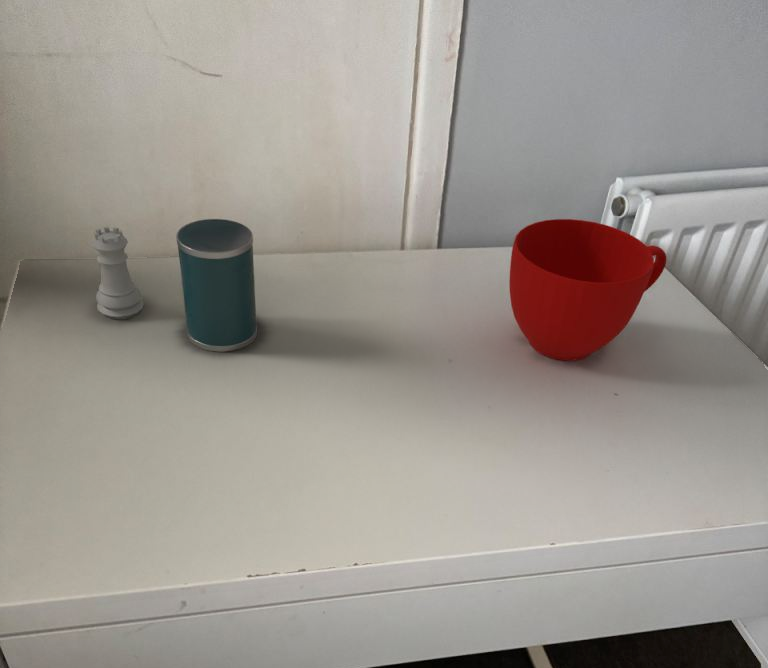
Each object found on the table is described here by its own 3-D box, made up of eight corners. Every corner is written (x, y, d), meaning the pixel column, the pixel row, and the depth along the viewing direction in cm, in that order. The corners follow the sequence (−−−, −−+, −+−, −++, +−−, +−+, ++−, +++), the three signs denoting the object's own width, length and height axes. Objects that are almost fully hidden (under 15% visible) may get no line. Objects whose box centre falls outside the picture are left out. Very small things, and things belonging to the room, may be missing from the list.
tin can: (174, 342, 79) (162, 243, 72) (206, 309, 84) (197, 213, 77) (239, 358, 78) (233, 258, 71) (268, 323, 83) (264, 227, 76)
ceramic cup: (683, 356, 83) (717, 264, 76) (542, 391, 77) (565, 293, 70) (606, 295, 92) (630, 206, 85) (473, 321, 86) (488, 228, 79)
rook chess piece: (122, 293, 85) (109, 217, 80) (153, 308, 83) (143, 231, 78) (88, 310, 82) (72, 233, 77) (119, 326, 81) (106, 248, 75)
